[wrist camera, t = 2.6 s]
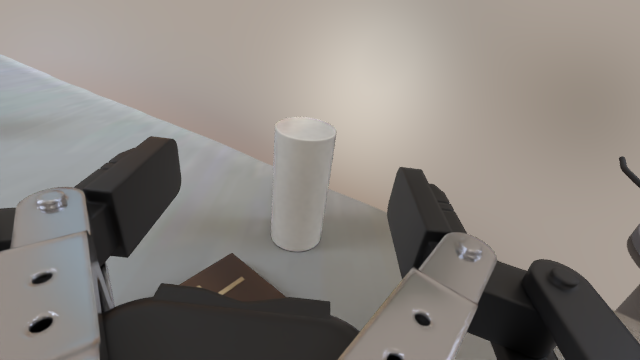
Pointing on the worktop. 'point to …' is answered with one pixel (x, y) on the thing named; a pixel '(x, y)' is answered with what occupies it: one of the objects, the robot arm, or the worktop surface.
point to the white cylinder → (300, 181)
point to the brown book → (234, 281)
